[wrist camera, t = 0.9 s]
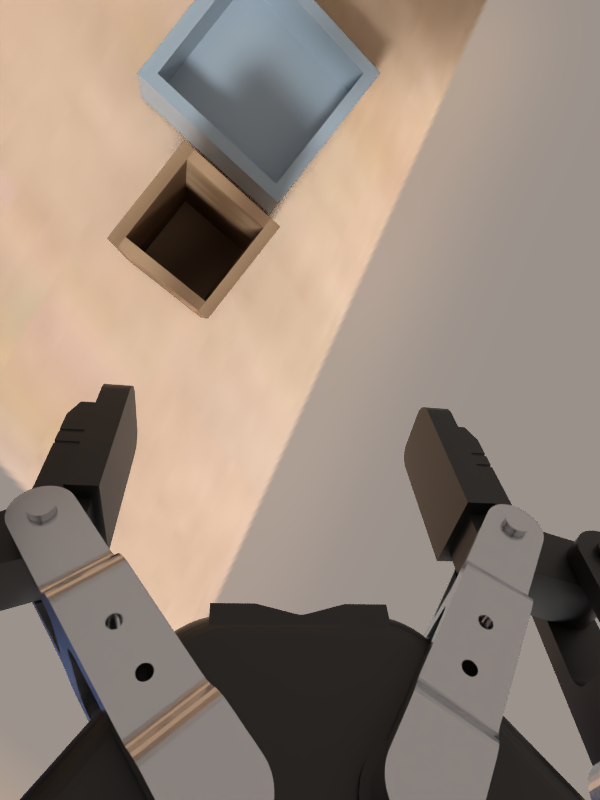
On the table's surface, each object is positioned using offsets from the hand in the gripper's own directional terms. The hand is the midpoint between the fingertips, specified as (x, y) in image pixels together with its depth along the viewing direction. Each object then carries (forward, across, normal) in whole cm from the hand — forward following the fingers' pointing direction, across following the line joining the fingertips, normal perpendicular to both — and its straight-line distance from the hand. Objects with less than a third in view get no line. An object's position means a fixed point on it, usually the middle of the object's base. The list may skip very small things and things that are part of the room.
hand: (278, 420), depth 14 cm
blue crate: (+28, +1, -4) cm, 29 cm away
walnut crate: (+23, +4, +5) cm, 24 cm away
